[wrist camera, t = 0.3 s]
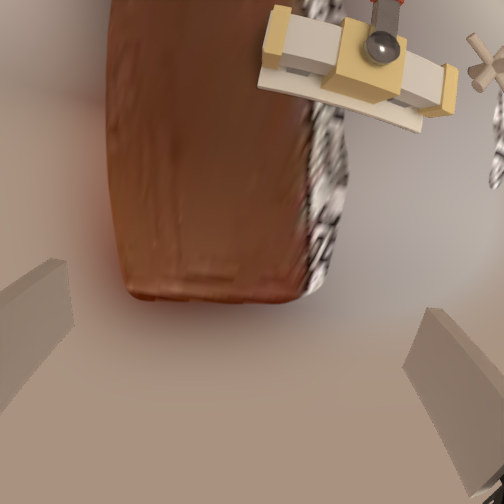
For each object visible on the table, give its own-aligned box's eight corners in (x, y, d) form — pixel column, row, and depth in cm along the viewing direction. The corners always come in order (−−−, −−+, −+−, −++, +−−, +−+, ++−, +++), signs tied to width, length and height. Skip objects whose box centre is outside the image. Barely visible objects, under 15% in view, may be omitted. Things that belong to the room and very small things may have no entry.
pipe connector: (465, 30, 28) (505, 12, 18) (504, 84, 30) (548, 78, 20) (433, 62, 30) (475, 45, 21) (476, 120, 32) (523, 118, 23)
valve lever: (371, -30, 19) (378, -40, 17) (399, -20, 19) (407, -28, 17) (359, 60, 23) (367, 53, 21) (389, 71, 23) (399, 66, 21)
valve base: (272, 22, 30) (276, -15, 21) (424, 70, 31) (465, 54, 22) (257, 88, 33) (257, 66, 23) (415, 133, 33) (457, 131, 24)
